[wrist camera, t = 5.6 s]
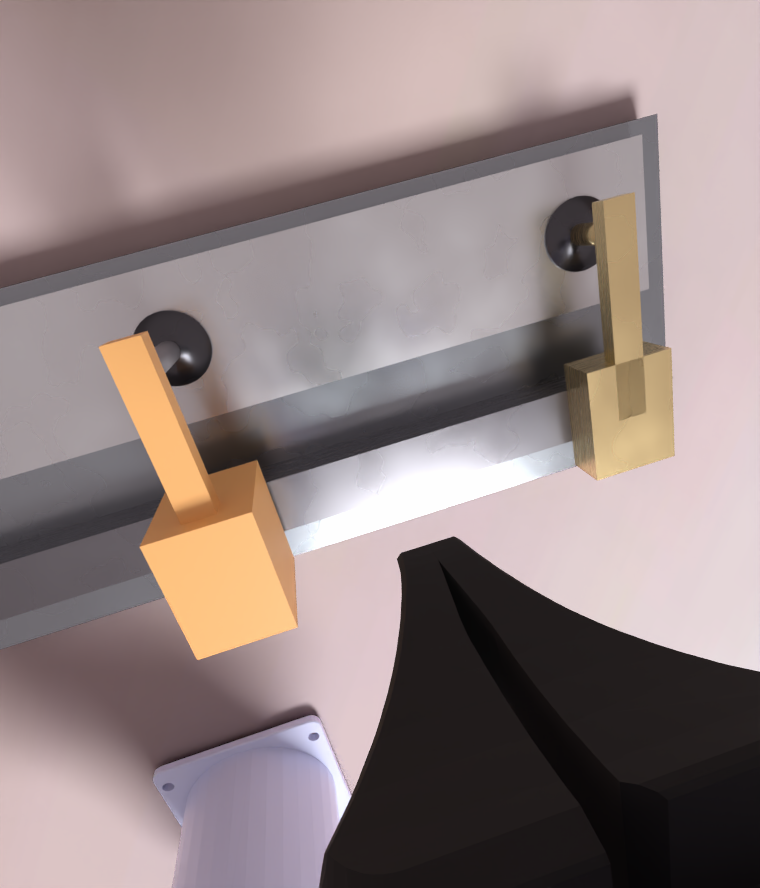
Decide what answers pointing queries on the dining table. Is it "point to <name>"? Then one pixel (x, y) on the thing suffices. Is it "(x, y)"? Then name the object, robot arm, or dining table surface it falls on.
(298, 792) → the robot arm
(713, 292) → the dining table surface
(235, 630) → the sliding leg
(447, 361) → the board
